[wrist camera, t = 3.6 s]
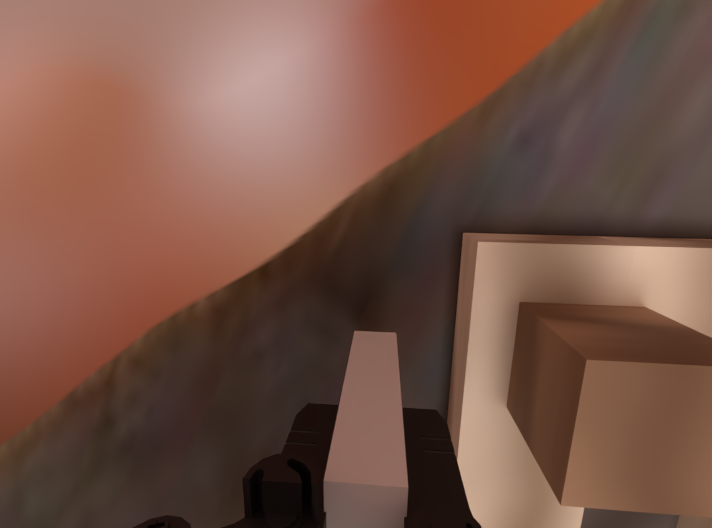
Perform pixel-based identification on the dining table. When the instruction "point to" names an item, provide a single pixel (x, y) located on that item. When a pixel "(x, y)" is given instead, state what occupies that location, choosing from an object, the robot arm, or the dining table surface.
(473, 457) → the trap board
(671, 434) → the walnut block
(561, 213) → the dining table surface
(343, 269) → the dining table surface
